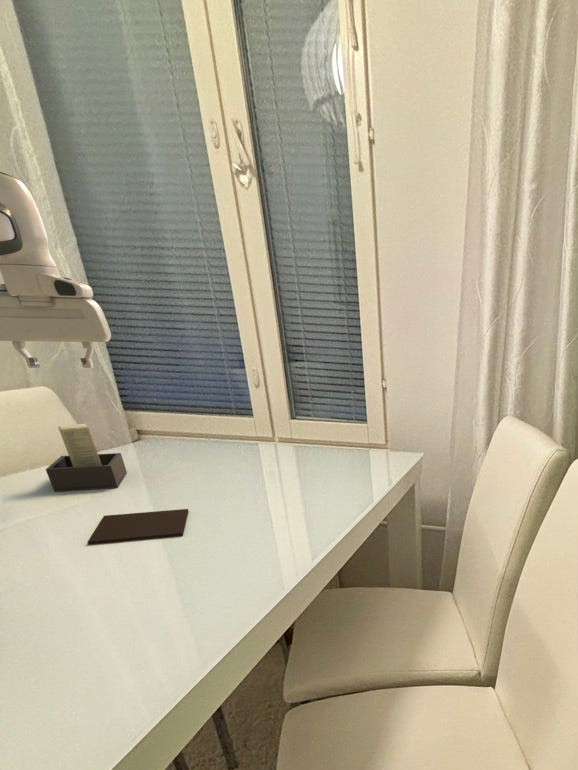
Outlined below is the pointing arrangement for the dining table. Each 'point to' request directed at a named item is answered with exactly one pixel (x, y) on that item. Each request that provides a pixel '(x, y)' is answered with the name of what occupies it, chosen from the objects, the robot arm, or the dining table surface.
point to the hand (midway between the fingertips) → (62, 367)
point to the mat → (139, 526)
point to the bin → (87, 474)
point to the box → (80, 445)
